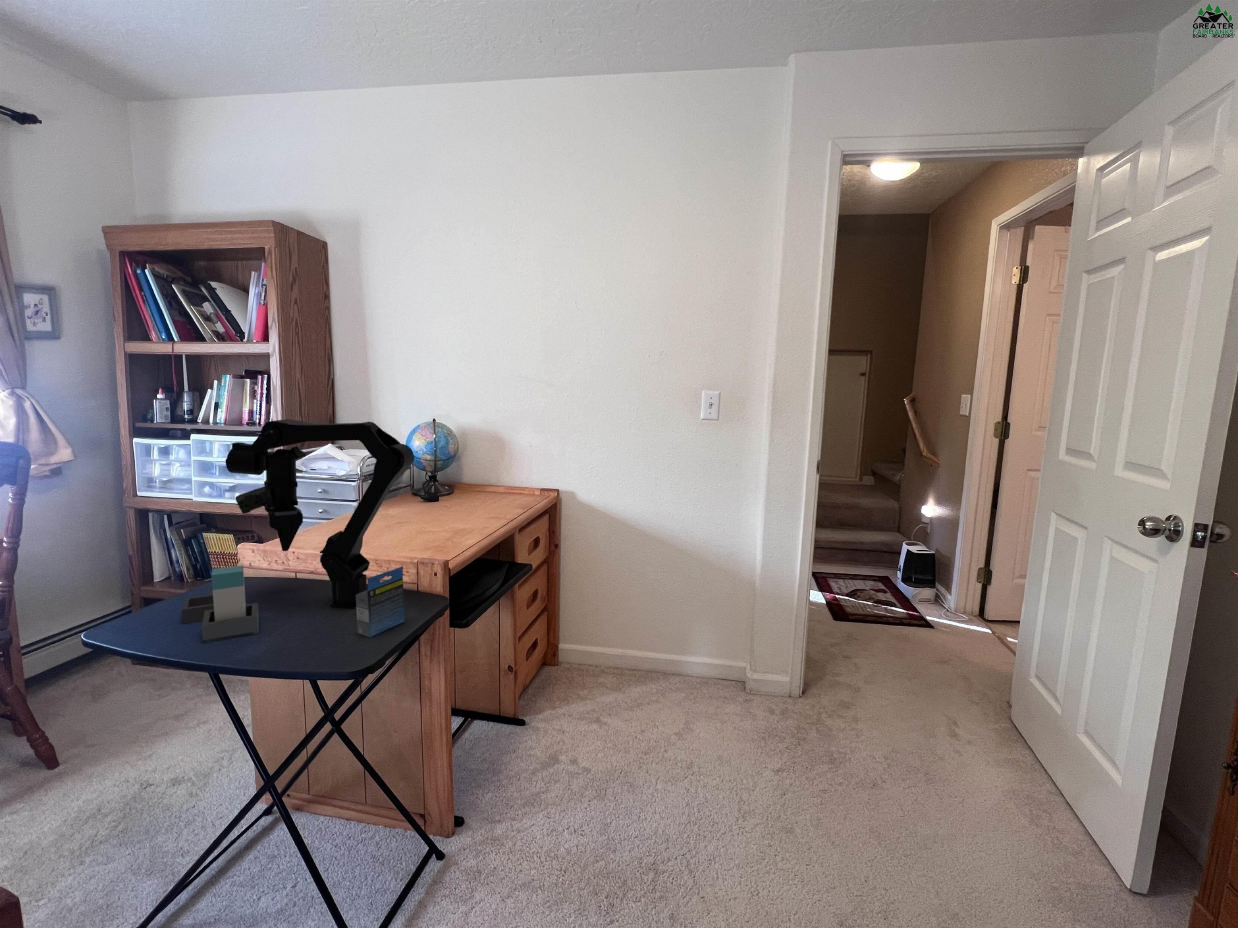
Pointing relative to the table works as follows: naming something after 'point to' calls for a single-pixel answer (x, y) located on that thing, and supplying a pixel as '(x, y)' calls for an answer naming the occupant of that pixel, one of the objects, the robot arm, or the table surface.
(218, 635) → the port
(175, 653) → the table surface
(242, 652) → the table surface
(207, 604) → the frame
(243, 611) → the plug
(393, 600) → the label tape cartridge
